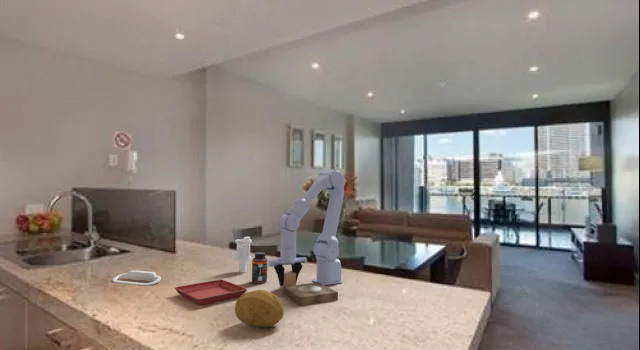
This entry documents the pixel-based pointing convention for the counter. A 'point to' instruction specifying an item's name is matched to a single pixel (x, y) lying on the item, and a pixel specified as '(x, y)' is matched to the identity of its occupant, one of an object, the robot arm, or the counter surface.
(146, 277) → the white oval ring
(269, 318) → the potato
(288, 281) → the block
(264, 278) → the supplement bottle
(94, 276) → the counter surface
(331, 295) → the plinth
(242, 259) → the white upright piece
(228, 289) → the plant saucer
